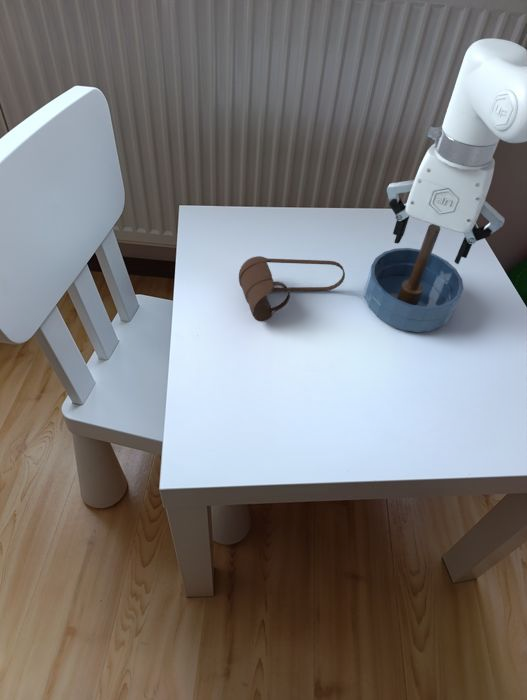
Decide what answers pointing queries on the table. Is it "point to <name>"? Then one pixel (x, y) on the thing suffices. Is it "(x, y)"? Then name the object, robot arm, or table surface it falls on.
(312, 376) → the table surface
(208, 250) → the table surface
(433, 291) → the bowl
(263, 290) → the brown barrel bag
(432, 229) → the stirring stick
